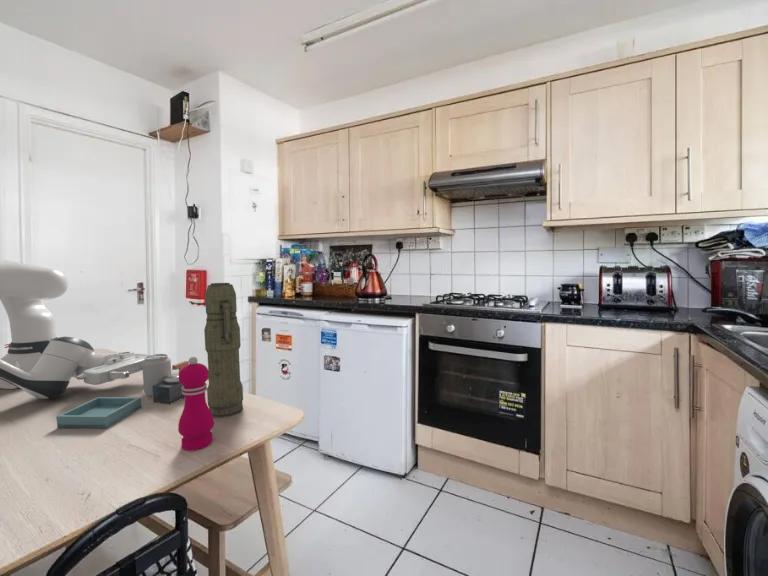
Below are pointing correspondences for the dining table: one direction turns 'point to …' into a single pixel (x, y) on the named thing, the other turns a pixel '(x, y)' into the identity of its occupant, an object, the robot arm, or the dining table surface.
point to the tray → (99, 412)
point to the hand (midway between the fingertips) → (141, 370)
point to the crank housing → (169, 387)
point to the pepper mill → (195, 407)
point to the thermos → (223, 351)
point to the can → (155, 371)
